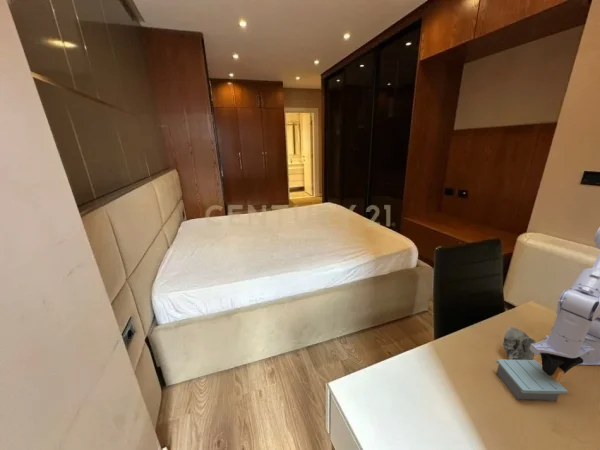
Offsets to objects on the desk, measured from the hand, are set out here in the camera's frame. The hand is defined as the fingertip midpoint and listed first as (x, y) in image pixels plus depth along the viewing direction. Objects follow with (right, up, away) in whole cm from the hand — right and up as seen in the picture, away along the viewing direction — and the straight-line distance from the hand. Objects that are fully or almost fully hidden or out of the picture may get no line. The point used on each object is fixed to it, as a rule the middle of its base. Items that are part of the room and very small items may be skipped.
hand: (551, 372), depth 67 cm
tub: (-6, -5, +2) cm, 8 cm away
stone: (+1, -2, +13) cm, 13 cm away
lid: (-5, -2, +1) cm, 6 cm away
